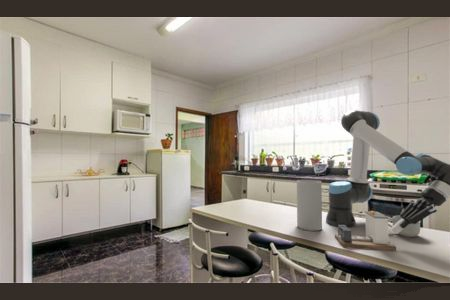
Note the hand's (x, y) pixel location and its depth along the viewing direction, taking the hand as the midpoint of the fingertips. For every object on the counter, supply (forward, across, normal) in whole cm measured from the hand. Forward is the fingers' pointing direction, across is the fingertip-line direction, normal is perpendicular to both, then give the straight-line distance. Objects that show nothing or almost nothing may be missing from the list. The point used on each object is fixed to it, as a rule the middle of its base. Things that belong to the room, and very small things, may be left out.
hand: (393, 231), depth 97 cm
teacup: (-4, +16, -13) cm, 21 cm away
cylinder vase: (+26, +19, +18) cm, 37 cm away
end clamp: (+17, 0, +11) cm, 20 cm away
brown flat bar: (+12, 0, +5) cm, 13 cm away
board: (+13, 0, +4) cm, 14 cm away
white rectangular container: (+8, 0, +2) cm, 8 cm away
